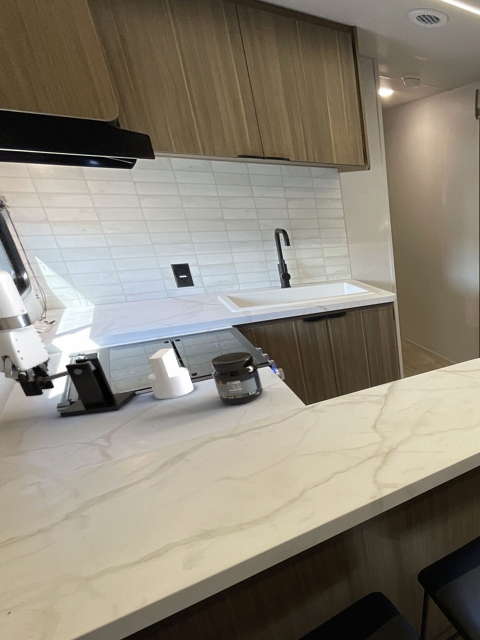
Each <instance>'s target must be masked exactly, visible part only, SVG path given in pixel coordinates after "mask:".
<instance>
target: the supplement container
mask: <svg viewBox="0 0 480 640" xmlns="http://www.w3.org/2000/svg"><path fill="white" fill-rule="evenodd" d="M210 364H211V366H212V369H213V370H212V372H211V376H212V378H213V380H214V383H215V386H216V390H217V394H218V397H219V398H218V399H219V400H220V401H221V402H222V403H223V404H226V405H231V406H232V405H241V404H246V403H249V402H253V401H255V400H257V399H258V398H260V397H261V396H262V395H263V392H264V388H263V386H262V385H263V384H262V382H261V378H260V373H259V370H258V365H257V364H256V363H255V362H254V357H253V354H252V353H250V352H247V351H237V352H230V353H225V354H221V355H218V356H216V357H214V358H212V359H211V360H210Z"/></svg>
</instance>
